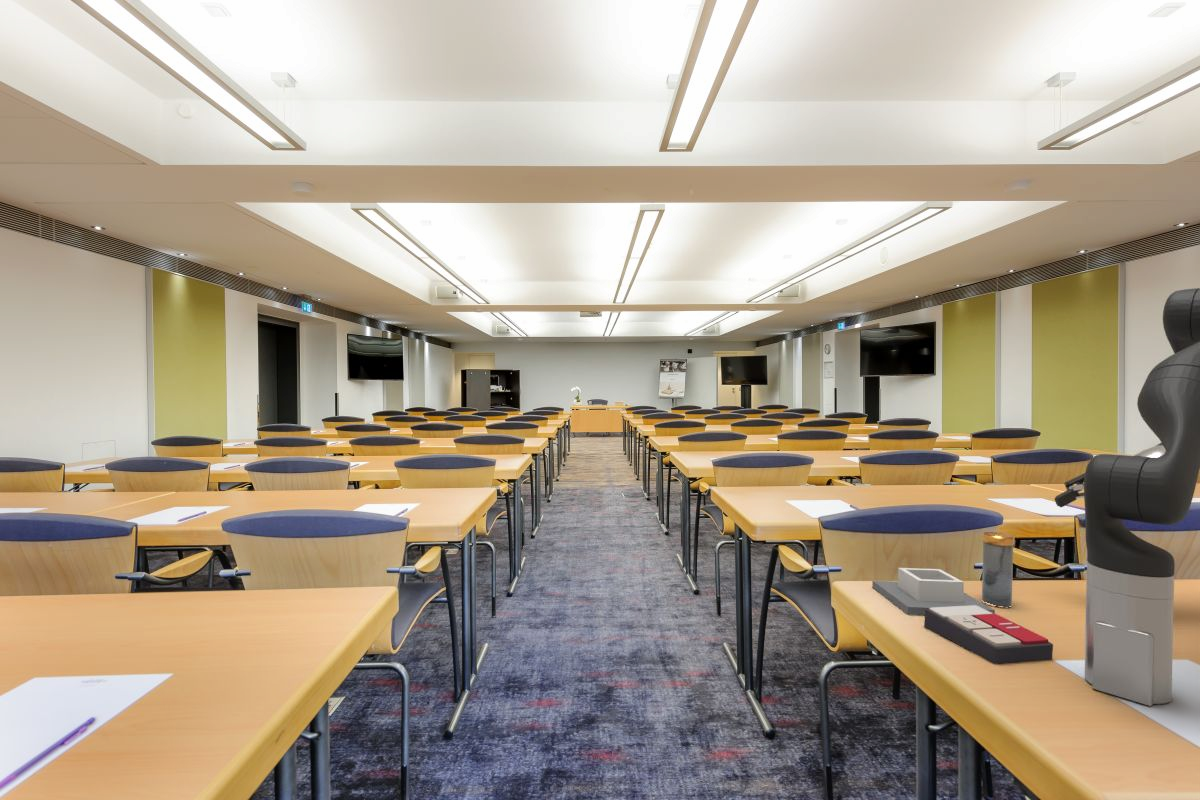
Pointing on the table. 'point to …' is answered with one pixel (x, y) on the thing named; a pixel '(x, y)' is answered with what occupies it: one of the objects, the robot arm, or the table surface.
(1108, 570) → the robot arm
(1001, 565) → the lidded canister
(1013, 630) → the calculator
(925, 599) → the duct collar
